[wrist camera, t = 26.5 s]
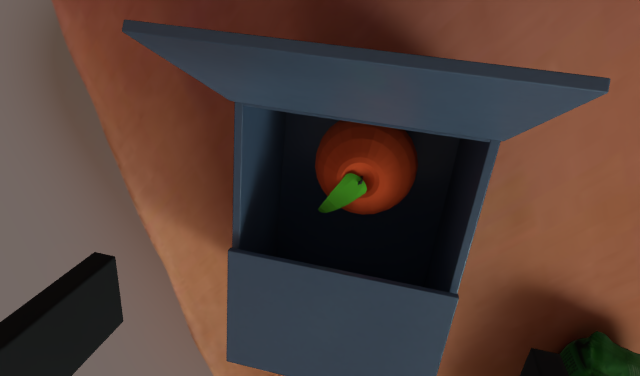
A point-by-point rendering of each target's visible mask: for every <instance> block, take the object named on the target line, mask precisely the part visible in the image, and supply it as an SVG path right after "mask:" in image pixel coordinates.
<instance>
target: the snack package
mask: <svg viewBox="0 0 640 376" xmlns="http://www.w3.org/2000/svg"><path fill="white" fill-rule="evenodd" d="M560 356H561V358H562V360H563V363H564V365H565V367H566V370H567V372H568V374H569V376H640V354H637V353H634V352H632V351H630V350H628V349H625V348H622V347H620V346H619V345H617V344H615V343H613V342H612V341H611V340H610V339H609V337H608V336H607V335H605V334H604V333H601V332H598V331H596V332H595V333H593V334H592V335H591V336H589V337H588V338H582V339H578V340H575V341H573V342H571V343H569V344H568V345H567V346H566V347H565V348H564V349H563V351H562V352H561V353H560Z"/></svg>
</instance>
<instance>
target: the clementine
mask: <svg viewBox="0 0 640 376" xmlns="http://www.w3.org/2000/svg"><path fill="white" fill-rule="evenodd" d="M417 168H418V160H417V152H416V149H415V146H414V144H413V141H412V139H411V137H410V136H409V135H408V133H407V132H406V131H405V130H403V129H396V128H390V127H383V126H376V125H369V124H363V123H356V122H349V121H342V120H339V121H338V122H337V123H335V124H334V125H333V126H331V127H330V128H329V129H328V131H327V132H326V133H325V135H324V136H323V137H322V139H321V142H320V144H319V147H318V149H317V153H316V161H315V169H316V175H317V179H318V181H319V184H320V186H321V188H322V190H323V191H324V193H325V194H326V195H327V196H328V197H327V198H326V200H325V201H324V202H323V203H322V205H321V206H320V207H319V208H318V210H319V211H320V212H322V213H327V212H331V211H334V210H337V209H339V208H342V209H344V210H347V211H349V212H351V213H357V214H362V215H364V214H376V213H379V212H382V211H385V210H388V209H390V208H392V207H393V206H395V205H397V204H398V203H400V202H401V201H402V199H403V198H404V197H405V196H406V195H407V194H408V193H409V191H410V189H411V187H412V185H413V183H414V181H415V178H416V173H417Z"/></svg>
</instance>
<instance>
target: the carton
mask: <svg viewBox="0 0 640 376" xmlns="http://www.w3.org/2000/svg"><path fill="white" fill-rule="evenodd" d="M339 120H342V121H349V122H356V123H363V124H369V125H376V126H383V127H390V128H396V129H403V130H405V131H406V132H407V133H408V135H409V136H410V137H411V139H412V141H413V144H414V146H415V149H416V152H417V160H418V168H417V173H416V178H415V181H414V183H413V185H412V187H411V189H410V191H409V193H408V194H407V195H406V196H405V197H404V198H403V199H402V201H401V202H400V203H398V204H397V205H395V206H393V207H392V208H390V209H388V210H385V211H382V212H379V213H376V214H364V215H362V214H357V213H351V212H349V211H347V210H344V209H342V208H339V209H337V210H334V211H331V212H327V213H322V212H320V211H319V210H318V208H319V207H320V206H321V205H322V203H323V202H324V201H325V200H326V198H327V197H328V196H327V195H326V194H325V193H324V191H323V190H322V188H321V186H320V184H319V181H318V179H317V175H316V169H315V161H316V153H317V149H318V147H319V144H320V142H321V139H322V137H323V136H324V135H325V133H326V132H327V131H328V129H329V128H330V127H331V126H333V125H334V124H335V123H337V122H338V121H339ZM500 142H501V141H499V140H492V139H485V138H478V137H472V136H465V135H458V134H451V133H444V132H438V131H431V130H424V129H417V128H411V127H404V126H397V125H390V124H384V123H377V122H370V121H363V120H356V119H350V118H343V117H336V116H329V115H323V114H316V113H309V112H302V111H296V110H289V109H282V108H275V107H268V106H262V105H255V104H248V103H241V102H235V119H234V178H233V238H232V248H230V249H229V250H228V290H227V361H228V362H232V363H236V364H240V365H244V366H248V367H252V368H256V369H260V370H264V371H268V372H272V373H276V374H280V375H284V376H437V372H438V369H439V365H440V362H441V358H442V355H443V351H444V348H445V344H446V341H447V338H448V334H449V331H450V327H451V324H452V320H453V317H454V313H455V310H456V306H457V303H458V299H459V296H458V294H457V293H458V289H459V286H460V282H461V279H462V275H463V272H464V268H465V265H466V261H467V258H468V254H469V251H470V247H471V244H472V240H473V237H474V233H475V230H476V226H477V223H478V219H479V216H480V212H481V209H482V205H483V202H484V198H485V195H486V191H487V188H488V184H489V181H490V177H491V173H492V170H493V166H494V163H495V159H496V156H497V152H498V149H499V145H500Z"/></svg>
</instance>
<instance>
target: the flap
mask: <svg viewBox="0 0 640 376" xmlns="http://www.w3.org/2000/svg"><path fill="white" fill-rule="evenodd" d="M122 32H124V33H125V34H127V35H128V36H130V37H131V38H133V39H135V40H136V41H138V42H139V43H141V44H142V45H144V46H145V47H147V48H149V49H150V50H152V51H153V52H155V53H156V54H158V55H159V56H161V57H163V58H164V59H166V60H167V61H169V62H170V63H172V64H174V65H175V66H177V67H178V68H180V69H181V70H183V71H184V72H186V73H188V74H189V75H191V76H192V77H194V78H195V79H197V80H199V81H200V82H202V83H203V84H205V85H206V86H208V87H209V88H211V89H213V90H214V91H216V92H217V93H219V94H220V95H222V96H223V97H225V98H227V99H228V100H230V101H235V102H241V103H248V104H255V105H262V106H268V107H275V108H282V109H289V110H296V111H302V112H309V113H316V114H323V115H329V116H336V117H343V118H350V119H356V120H363V121H370V122H377V123H384V124H390V125H397V126H404V127H411V128H417V129H424V130H431V131H438V132H444V133H451V134H458V135H465V136H472V137H478V138H485V139H492V140H499V141H505V140H507V139H509V138H512V137H514V136H516V135H518V134H520V133H522V132H525V131H527V130H529V129H531V128H533V127H535V126H537V125H540V124H542V123H544V122H546V121H548V120H550V119H553V118H555V117H557V116H559V115H561V114H563V113H565V112H568V111H570V110H572V109H574V108H576V107H578V106H580V105H583V104H585V103H587V102H589V101H591V100H593V99H596V98H598V97H600V96H602V95H604V94H606V93H608V90H609V85H610V78H603V77H595V76H587V75H579V74H570V73H562V72H554V71H546V70H537V69H529V68H521V67H512V66H504V65H496V64H488V63H479V62H471V61H463V60H455V59H446V58H438V57H430V56H422V55H413V54H405V53H397V52H389V51H380V50H372V49H364V48H355V47H347V46H339V45H331V44H322V43H314V42H306V41H298V40H289V39H281V38H273V37H265V36H256V35H248V34H240V33H232V32H223V31H215V30H207V29H199V28H190V27H182V26H174V25H165V24H157V23H149V22H141V21H132V20H124V22H123V28H122Z"/></svg>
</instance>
